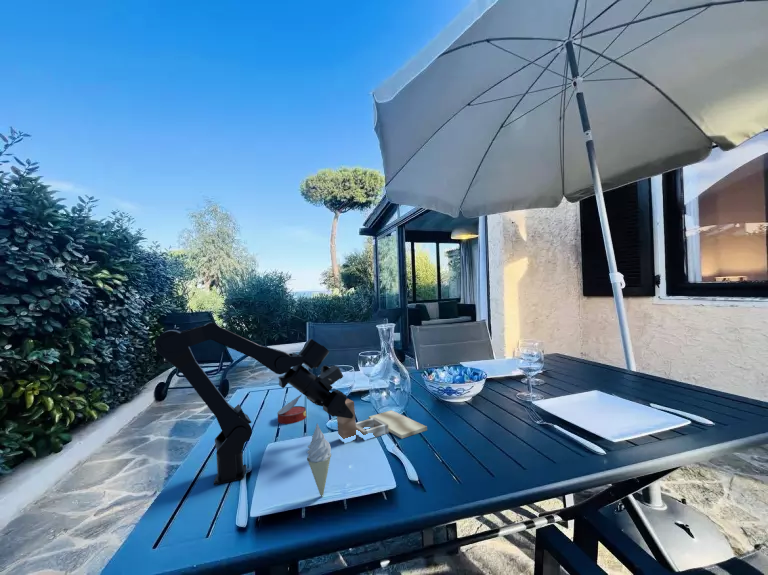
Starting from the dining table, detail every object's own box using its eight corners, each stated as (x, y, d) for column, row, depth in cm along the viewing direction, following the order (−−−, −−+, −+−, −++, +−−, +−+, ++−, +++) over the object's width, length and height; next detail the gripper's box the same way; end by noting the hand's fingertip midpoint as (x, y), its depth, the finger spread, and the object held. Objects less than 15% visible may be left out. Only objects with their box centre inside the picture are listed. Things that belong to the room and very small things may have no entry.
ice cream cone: (335, 488, 71) (330, 417, 71) (332, 502, 66) (327, 426, 66) (312, 490, 71) (307, 419, 71) (307, 504, 66) (302, 428, 66)
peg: (344, 444, 93) (341, 404, 93) (338, 439, 96) (335, 401, 97) (356, 440, 95) (353, 401, 95) (350, 435, 98) (348, 398, 99)
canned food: (296, 436, 113) (287, 415, 109) (275, 429, 118) (265, 409, 114) (316, 411, 121) (308, 391, 117) (296, 406, 126) (287, 386, 122)
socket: (374, 448, 89) (373, 438, 89) (344, 426, 106) (343, 418, 106) (427, 430, 98) (426, 421, 98) (391, 413, 115) (391, 405, 115)
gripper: (336, 362, 86) (376, 395, 91) (313, 355, 102) (348, 383, 107) (309, 399, 81) (353, 432, 87) (289, 385, 97) (327, 414, 103)
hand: (345, 412), depth 96 cm, fingers open, 9 cm apart
